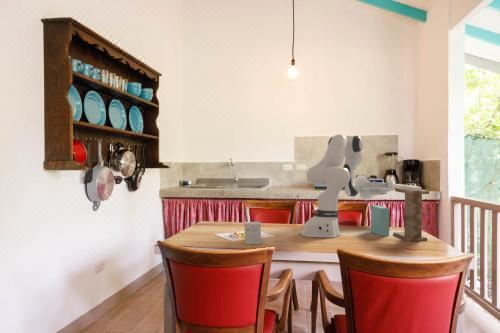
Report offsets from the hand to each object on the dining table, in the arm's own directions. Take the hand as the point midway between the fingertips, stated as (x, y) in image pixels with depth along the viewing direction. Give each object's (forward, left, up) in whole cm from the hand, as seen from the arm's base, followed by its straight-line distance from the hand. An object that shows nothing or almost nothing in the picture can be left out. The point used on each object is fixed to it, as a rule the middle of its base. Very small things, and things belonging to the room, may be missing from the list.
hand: (382, 182), depth 208 cm
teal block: (-11, -19, -28) cm, 35 cm away
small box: (-87, -34, -28) cm, 97 cm away
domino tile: (0, -27, -2) cm, 27 cm away
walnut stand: (0, -32, -28) cm, 42 cm away
